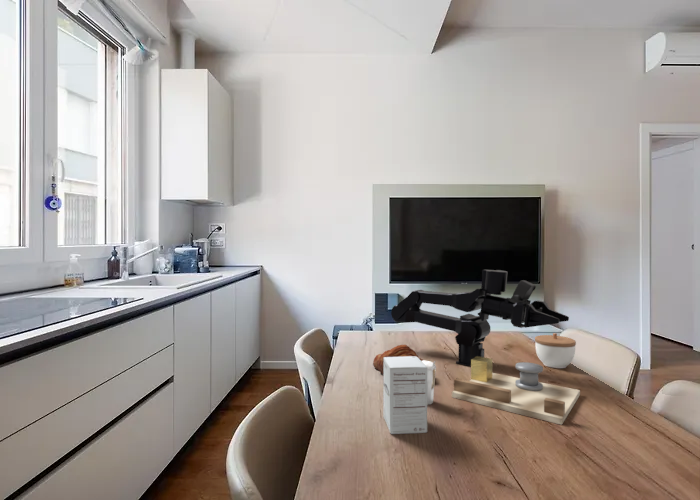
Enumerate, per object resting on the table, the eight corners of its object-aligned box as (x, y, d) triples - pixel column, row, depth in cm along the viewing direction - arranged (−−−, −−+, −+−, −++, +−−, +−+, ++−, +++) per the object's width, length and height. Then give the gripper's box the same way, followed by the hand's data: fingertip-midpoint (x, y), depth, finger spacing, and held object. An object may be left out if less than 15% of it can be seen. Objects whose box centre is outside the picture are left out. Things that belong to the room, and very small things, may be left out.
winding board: (451, 397, 93) (451, 381, 93) (483, 375, 108) (483, 361, 108) (561, 424, 78) (561, 406, 78) (579, 395, 94) (579, 379, 94)
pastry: (431, 367, 116) (432, 340, 116) (435, 386, 101) (435, 354, 101) (374, 365, 119) (374, 338, 119) (368, 382, 104) (368, 351, 104)
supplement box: (382, 418, 82) (382, 356, 82) (418, 416, 82) (418, 355, 82) (389, 435, 74) (389, 367, 74) (428, 433, 75) (428, 366, 75)
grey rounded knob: (512, 387, 96) (512, 366, 96) (519, 380, 101) (519, 360, 101) (539, 393, 92) (539, 371, 92) (545, 385, 97) (545, 365, 97)
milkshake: (426, 408, 86) (426, 362, 86) (411, 400, 91) (411, 356, 91) (442, 404, 88) (442, 359, 88) (427, 396, 93) (427, 353, 93)
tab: (471, 379, 102) (471, 359, 102) (476, 375, 105) (477, 356, 105) (486, 382, 99) (486, 362, 99) (492, 378, 102) (492, 358, 102)
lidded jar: (581, 372, 112) (581, 338, 111) (540, 369, 114) (540, 336, 114) (568, 361, 122) (568, 330, 122) (530, 359, 124) (531, 329, 124)
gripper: (493, 279, 106) (557, 288, 95) (518, 279, 119) (577, 288, 109) (488, 320, 106) (551, 335, 95) (513, 316, 120) (571, 329, 109)
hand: (563, 320), depth 102 cm, fingers open, 9 cm apart
